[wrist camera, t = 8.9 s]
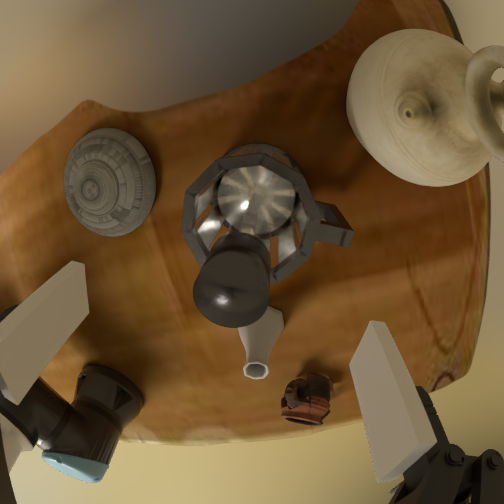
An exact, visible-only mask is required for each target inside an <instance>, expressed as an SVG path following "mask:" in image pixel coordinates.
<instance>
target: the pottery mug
mask: <svg viewBox="0 0 504 504" xmlns="http://www.w3.org/2000/svg"><path fill="white" fill-rule="evenodd" d="M330 394H333V382H332V381H331V380H329V379H328V378H325V377H323V376H321V375H316V374H308V379H307V382H306V381H305V380H304V379H301V378H299V379H296V380H293V381H291V382H290V383H289V384H288V385H287V387H286V390H285V398H282V400H281V410H282V411H283V412H282V415H281V417H282V418H286V420H288V421H291V422H295V423H300V424H305V425H314V426H315V425H322V424H323V422H322V419H324V418H325V417H326V416H327V415H328V414H329V413H330V410H329V407H330V404H329V403H328V402H329V401H330ZM307 396H309V398H310V402H308V401H306V399H305V397H307ZM287 402H288V405H289V406H291V407H293V408H290V407H289V406H288V405H287ZM328 410H329V411H328ZM327 411H328V412H327Z"/></svg>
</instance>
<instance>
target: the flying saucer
mask: <svg viewBox="0 0 504 504" xmlns="http://www.w3.org/2000/svg"><path fill="white" fill-rule="evenodd" d="M63 187H64V193H65V198H66V201H67V203H68V206H69V208H70V210H71V212H72V213H73V215H74V216H75V217H76V219H77V220H78V221H79V222H80V223H81V224H82V225H83V226H85V227H86V228H87V229H89V230H90V231H92V232H94V233H97V234H99V235H103V236H109V237H117V236H122V235H126V234H128V233H130V232H132V231H134V230H135V229H136V228H138V227H139V226H140V225H141V224H142V223H143V222H144V220H145V219H146V218H147V216H148V214H149V213H150V210H151V208H152V205H153V202H154V198H155V191H156V179H155V172H154V168H153V165H152V162H151V159H150V157H149V155H148V153H147V151H146V150H145V148H144V147H143V146H142V144H141V143H140V142H139V141H138V140H137V139H136V138H134V137H133V136H132V135H130V134H129V133H127V132H125V131H123V130H120V129H116V128H100V129H96V130H94V131H91V132H89V133H88V134H86V135H85V136H83V137H82V138H81V139H80V140H79V141H78V142H77V143H76V144H75V146H74V147H73V149H72V150H71V152H70V154H69V156H68V158H67V161H66V164H65V168H64V175H63Z"/></svg>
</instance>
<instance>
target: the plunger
mask: <svg viewBox="0 0 504 504" xmlns="http://www.w3.org/2000/svg"><path fill="white" fill-rule="evenodd" d="M294 202H295V193H294V188H293V185H292V183H291V182H289V181H287V180H286V179H284V178H282V177H280V176H279V175H277V174H275V173H273V172H271V171H270V170H268V169H266V168H264V167H262V166H252V167H244V168H237V169H230V170H229V171H228V172H227V173H226V174H225V176H224V177H223V179H222V181H221V183H220V185H219V189H218V204H219V207H220V210H221V212H222V215H223V216H224V218H225V219H226V220H227V221H228V222H229V223H230V224H231V225H232V226H233V227H235V228H236V229H238V230H239V232H232V233H228V234H226V235H224V236H222V237H221V238H219V239H218V240H217V241H216V242H215V243H214V245H213V247H212V248H211V250H210V252H209V254H208V256H207V258H206V260H205V262H204V264H203V266H202V269H201V271H200V273H199V275H198V277H197V279H196V281H195V283H194V287H193V298H194V301H195V304H196V306H197V308H198V310H199V311H200V312H201V313H202V314H203V315H204V316H205V317H206V318H207V319H208V320H210V321H211V322H213V323H215V324H217V325H220V326H224V327H229V328H240V327H245V326H248V325H251V324H253V323H255V322H256V321H258V320H259V319H260V318H261V317H262V316H263V315H264V313H265V312H266V310H267V307H268V304H269V293H270V267H271V258H270V254H269V251H268V249H267V247H266V245H265V244H264V243H263V242H262V241H261V240H260V239H259V238H257V237H256V236H255V234H265V233H269V232H272V231H274V230H276V229H278V228H279V227H280V226H282V225H283V224H284V223H285V222H286V221H287V219H288V218H289V216H290V215H291V213H292V210H293V207H294Z"/></svg>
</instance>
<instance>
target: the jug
mask: <svg viewBox="0 0 504 504" xmlns="http://www.w3.org/2000/svg"><path fill="white" fill-rule="evenodd" d="M501 67H502V68H504V47H503V46H488V47H484V48H482V49H480V50H479V51H477V52H476V53H475V54H473V53H472V52H471V51H470V50H469V49H468V48H466V47H465V46H464V45H462V44H461V43H459V42H458V41H456V40H455V39H453V38H451V37H448V36H446V35H443V34H440V33H438V32H434V31H430V30H424V29H405V30H399V31H396V32H392V33H390V34H388V35H385V36H383V37H381V38H380V39H378V40H377V41H375V42H374V43H373V44H371V45H370V46H369V47H368V48H367V49H366V50H365V51H364V52H363V54H362V55H361V56H360V58H359V59H358V61H357V63H356V65H355V67H354V70H353V72H352V75H351V77H350V81H349V86H348V91H347V99H346V111H347V117H348V120H349V123H350V126H351V128H352V130H353V132H354V134H355V136H356V137H357V139H358V140H359V142H360V143H361V145H362V146H363V147H364V148H365V149H366V150H367V151H368V152H369V153H370V154H371V156H372V157H373V158H374V159H375V160H376V161H378V162H379V163H380V164H381V165H382V166H383V167H384V168H386V169H387V170H388V171H390V172H391V173H393V174H394V175H396V176H398V177H400V178H401V179H404V180H406V181H409V182H412V183H415V184H419V185H425V186H448V185H453V184H457V183H460V182H462V181H464V180H467V179H468V178H470V177H472V176H473V175H475V174H476V173H478V172H479V171H480V170H481V169H482V168H483V167H484V166H485V165H486V164H487V163H488V161H489V160H490V158H491V157H492V156H494V157H495V158H497V159H498V160H500V161H502V162H504V133H503V132H502V130H501V122H502V121H501V115H502V114H503V113H504V80H503V81H502V82H501V83H497V82H495V81H493V80H492V79H491V76H492V74H493V73H494V71H495V70H496V69H498V68H501Z"/></svg>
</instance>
